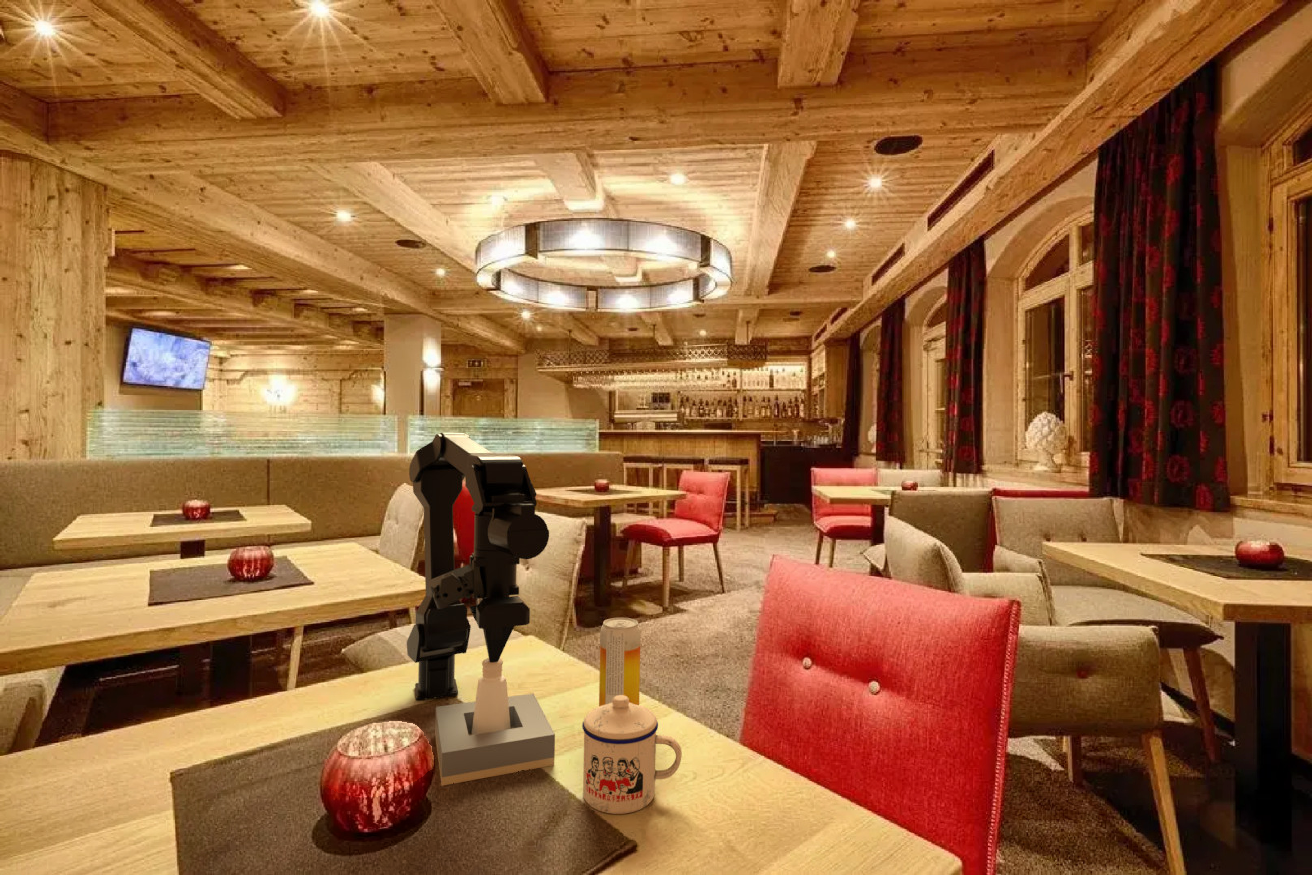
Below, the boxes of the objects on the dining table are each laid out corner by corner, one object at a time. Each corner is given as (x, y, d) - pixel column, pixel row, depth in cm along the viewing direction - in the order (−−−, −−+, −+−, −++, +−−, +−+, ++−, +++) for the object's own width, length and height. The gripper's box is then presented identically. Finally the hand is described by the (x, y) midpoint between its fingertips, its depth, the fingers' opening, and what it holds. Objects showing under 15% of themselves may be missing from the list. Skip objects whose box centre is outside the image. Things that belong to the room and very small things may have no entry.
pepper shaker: (489, 753, 82) (490, 670, 83) (462, 741, 85) (463, 661, 86) (519, 737, 87) (521, 658, 87) (492, 727, 90) (494, 650, 90)
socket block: (435, 734, 89) (435, 706, 89) (533, 719, 95) (533, 693, 95) (441, 785, 77) (442, 752, 77) (554, 764, 82) (554, 734, 82)
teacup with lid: (572, 813, 71) (574, 711, 71) (590, 771, 80) (592, 680, 81) (677, 822, 70) (679, 718, 70) (683, 778, 79) (685, 686, 79)
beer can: (641, 713, 97) (643, 617, 98) (636, 732, 91) (638, 629, 91) (602, 711, 98) (604, 615, 98) (595, 729, 92) (597, 627, 92)
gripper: (429, 539, 91) (428, 646, 91) (437, 563, 74) (435, 695, 74) (507, 536, 96) (505, 638, 96) (531, 558, 78) (529, 683, 78)
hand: (493, 661), depth 86 cm, fingers closed, pressing on pepper shaker
